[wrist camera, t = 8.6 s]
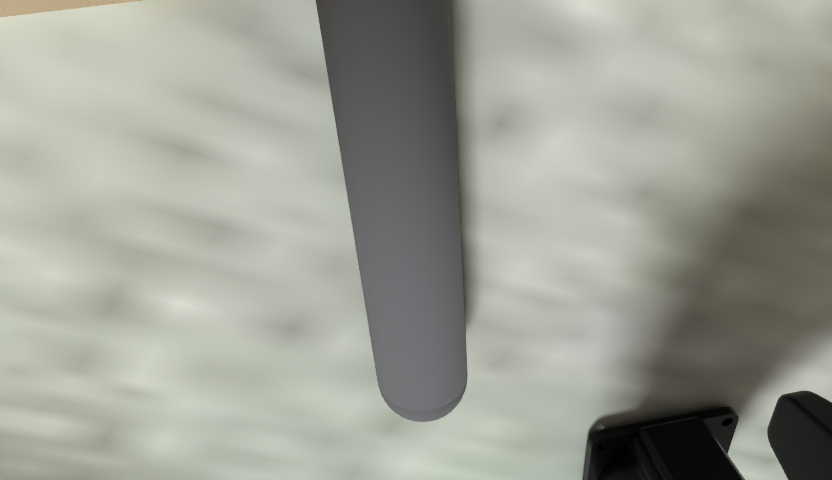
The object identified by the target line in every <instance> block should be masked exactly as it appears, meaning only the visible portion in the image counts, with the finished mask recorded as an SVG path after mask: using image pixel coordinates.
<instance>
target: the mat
mask: <svg viewBox="0 0 832 480" xmlns="http://www.w3.org/2000/svg"><path fill="white" fill-rule="evenodd" d="M133 1H142V0H0V17H6V16H15V15H23V14H32V13H40V12H48V11H57V10H65V9H74V8H82V7H91V6H99V5H108V4H116V3H125V2H133Z"/></svg>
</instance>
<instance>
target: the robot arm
mask: <svg viewBox="0 0 832 480" xmlns="http://www.w3.org/2000/svg"><path fill="white" fill-rule="evenodd" d="M737 423H738V416H737V414H736V413H735V412H734V410H733V409H732V408H731V407H721V408H716V409H711V410H706V411H700V412H695V413H690V414H685V415H680V416H675V417H670V418H664V419H659V420H654V421H649V422H644V423H639V424H633V425H628V426H623V427H618V428H613V429H608V430H603V431H599V432H596V433H594V434H592V435H591V436H590V437H589V439H588V443H587V451H586V460H585V468H584V476H583V480H745V479H744V478H743V476H742V475H741V473H740V472H739V470H738V469H737V468H736V466H735V465H734V463H733V462H732V460H731V459H730V457H729V456H728V455H727V453H728V450H729V447H730V444H731V441H732V438H733V435H734V432H735V429H736V426H737ZM767 434H768V439H769V442H770V445H771V447H772V449H773V451H774V453H775V455H776V457H777V459H778V461H779V463H780V464H781V466H782V468H783V470H784V472H785V474H786V476H787V478H788V480H832V402H830V401H828V400H826V399H824V398H823V397H821V396H819V395H817V394H815V393H813V392H810V391H799V392H793V393H788V394H784V395H782V396H781V397H780V398H779V399H778V401H777V404H776V406H775V409H774V412H773V415H772V417H771V420H770V423H769V426H768V432H767Z"/></svg>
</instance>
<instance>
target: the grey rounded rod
mask: <svg viewBox="0 0 832 480" xmlns="http://www.w3.org/2000/svg"><path fill="white" fill-rule="evenodd" d="M316 4H317V10H318V16H319V23H320V29H321V35H322V41H323V47H324V53H325V60H326V66H327V72H328V78H329V84H330V90H331V97H332V103H333V109H334V115H335V121H336V127H337V134H338V140H339V146H340V152H341V158H342V164H343V171H344V177H345V183H346V189H347V195H348V201H349V208H350V214H351V220H352V226H353V232H354V238H355V245H356V251H357V257H358V263H359V269H360V275H361V282H362V288H363V294H364V300H365V306H366V312H367V319H368V325H369V331H370V337H371V343H372V349H373V356H374V362H375V368H376V374H377V380H378V385H379V389H380V392H381V395H382V397H383V398H384V400H385V402H386V403H387V405H388V406H389V407H390V408H391V409H392V410H393V411H394V412H396V413H397V414H398V415H400V416H401V417H403V418H406V419H408V420H412V421H418V422H426V421H433V420H436V419H439V418H441V417H444V416H445V415H447V414H448V413H450V412H451V411H452V410H453V409H454V408H455V407H456V406H457V405H458V403H459V402H460V400H461V399H462V397H463V394H464V392H465V389H466V385H467V355H466V332H465V310H464V287H463V265H462V243H461V220H460V198H459V176H458V153H457V131H456V109H455V86H454V64H453V42H452V19H451V0H316Z"/></svg>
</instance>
